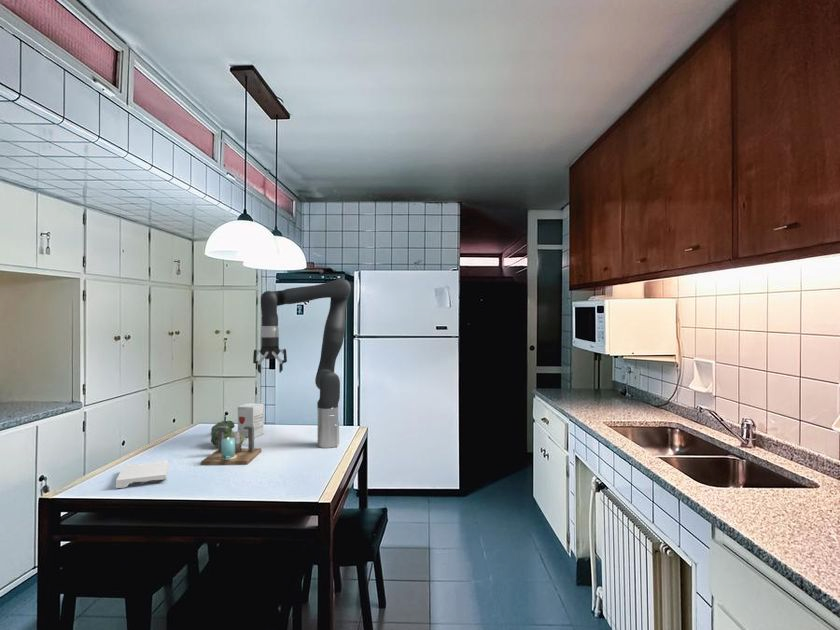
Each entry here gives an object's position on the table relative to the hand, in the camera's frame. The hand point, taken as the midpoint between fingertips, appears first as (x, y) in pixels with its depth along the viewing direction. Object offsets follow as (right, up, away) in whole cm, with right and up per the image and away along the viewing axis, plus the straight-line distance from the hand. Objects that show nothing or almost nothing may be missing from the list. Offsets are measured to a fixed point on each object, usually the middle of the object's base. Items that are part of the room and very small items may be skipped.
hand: (270, 372), depth 217 cm
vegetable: (-21, -34, +3) cm, 39 cm away
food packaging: (-34, -34, -40) cm, 62 cm away
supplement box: (-16, -33, +22) cm, 43 cm away
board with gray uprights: (-11, -33, -16) cm, 38 cm away
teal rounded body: (-10, -31, -21) cm, 39 cm away
